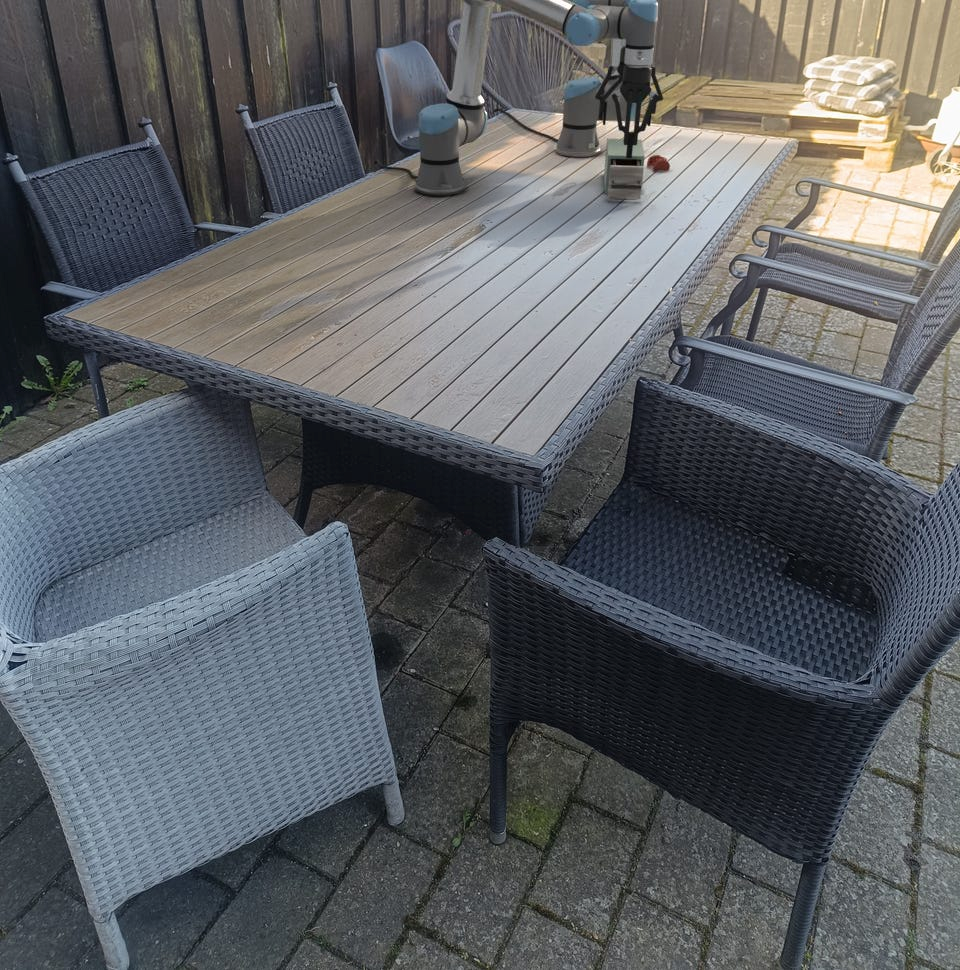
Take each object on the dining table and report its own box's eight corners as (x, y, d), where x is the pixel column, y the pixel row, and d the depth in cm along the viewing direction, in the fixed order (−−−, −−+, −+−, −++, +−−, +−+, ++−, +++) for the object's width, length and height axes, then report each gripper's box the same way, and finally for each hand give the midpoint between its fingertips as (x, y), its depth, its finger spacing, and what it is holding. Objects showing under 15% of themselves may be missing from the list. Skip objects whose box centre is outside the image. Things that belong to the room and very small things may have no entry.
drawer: (641, 204, 243) (644, 172, 238) (607, 203, 244) (610, 171, 239) (637, 181, 263) (640, 150, 257) (606, 180, 263) (609, 149, 258)
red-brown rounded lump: (661, 151, 278) (672, 157, 272) (660, 164, 281) (670, 171, 275) (646, 153, 277) (656, 159, 271) (645, 166, 280) (654, 173, 274)
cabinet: (640, 194, 255) (644, 156, 248) (604, 193, 256) (608, 155, 249) (637, 175, 271) (641, 139, 264) (604, 174, 272) (607, 138, 265)
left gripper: (613, 67, 223) (606, 159, 236) (663, 68, 222) (652, 161, 235) (613, 62, 229) (605, 153, 242) (661, 63, 228) (651, 154, 241)
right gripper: (590, 48, 244) (585, 126, 256) (678, 50, 241) (668, 128, 254) (590, 44, 250) (585, 120, 262) (675, 46, 247) (666, 122, 260)
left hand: (628, 156), depth 239 cm, fingers closed
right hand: (626, 124), depth 258 cm, fingers open, 13 cm apart
